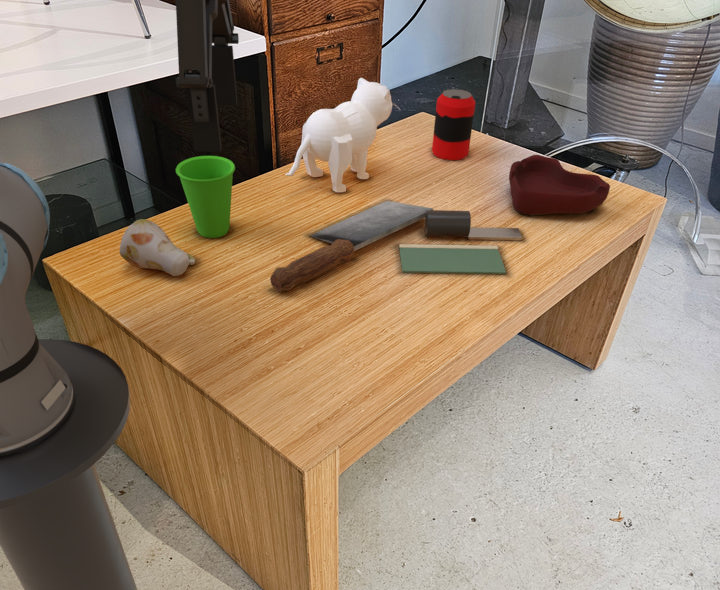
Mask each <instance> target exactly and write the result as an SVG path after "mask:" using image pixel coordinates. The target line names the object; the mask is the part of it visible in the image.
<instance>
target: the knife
mask: <svg viewBox="0 0 720 590" xmlns="http://www.w3.org/2000/svg"><path fill="white" fill-rule="evenodd" d="M471 225H472V218H471V212H470V210H448V209H447V210H445V209H444V210H440V209H439V210H437V209H433V210H427V211H426V214H425V218H424V236H426V237H456V238H457V237H459V238H461V237H463V238H466V237H467V240H468V241H522V240H523V236H522V234H521V232H520V229H519V227H474V226H473V227H471Z"/></svg>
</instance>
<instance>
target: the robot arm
mask: <svg viewBox="0 0 720 590" xmlns="http://www.w3.org/2000/svg"><path fill="white" fill-rule="evenodd" d="M175 14H176V15H175V16H176V36H177V37H176V39H177V61H178V63H177V64H178V77H175V86H176V87H177V88H182V89H183V88H185V93H186V94H185V95H186V101H187V109H188V114H189V122H190V123H189V124H190V130H191V136H192V137H191V138H192V145H193V151H194V152H203V153H205V152H209V153H210V152H211V153H221V152H222V148H223V147H222V139H221V130H220V129H221V127H220V121H219V120H220V119H219V111H218V106H220V107H238V104H239V103H238V92H237V81H236V70H235V69H236V67H235V57H234V47H233V45H238V44H239V42H240V40H239V33H238V32H237V33H236V32H234V31H235V25H234V21H233V16H232V15H233V14H232V11H231V4H230V0H175ZM193 71H196V72H193ZM50 213H51V212H50V207H49V203H48V201H47V198H46V196H45V194H44V192H43V191H42V189H41V188H40V186H39V185H38V183H37V182H36V181H35V180H34V179H33V178H32V177H31V176H30V175H28V174H27V172H25V171H23V170H22V169H20V168H19V167H17V166H15V165H13V164H11V163H8V162H5V163H3V162H0V458H5V457H9V456H13V455H16V454H19V453H21V452H24V451H26V450H29V449H31V448H33V447H35V446H37V445H39V444H40V443H42V442H44V441H45V440H47V439H48V438H50V437H51V436H52V435H53V434H55V433H56V432H57V431H58V430H59V429H60V428H61V427H62V426H63V425H64V424H65V423H66V421H67V420H68V419H69V417H70V415H71V413H72V411H73V409H74V406H75V392H74V389H73V386H72V383H71V380H70V378H69V377H68V375H67V373H66V372H65V371H64V369H63V368H62V367H61V366H60V365H59V364H58V363H57V362H56V361H55V360H54V358H53V357H52V356H51V355H50V354H49V353H48V352H47V351H46V350H45V349H44V348H43V346H42V345H41V344H40V343H39V341H38V339H39V338H38V336H37V333H36V329H35V326H34V324H33V321H32V318H31V316H30V313H29V310H28V307H27V304H26V294H27V292H28V288H29V285H30V283H31V280H32V278H33V275H34V273H35V270H36V267H37V265H38V262H39V260H40V256H41V254H42V252H43V251H44V250H45V248H46V246H47V243H48V239H49V235H50V225H51V214H50Z"/></svg>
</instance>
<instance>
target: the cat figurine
mask: <svg viewBox="0 0 720 590" xmlns="http://www.w3.org/2000/svg"><path fill="white" fill-rule="evenodd" d="M393 106H395V107H396V108H397V109H398V110H400V107H399V106H398V105H397V104H396V103H393V102H392V95H391V91H390V89H389V88H388V87H387V86H386V85H383V84H382V83H379V82H376V81H368V80H366V79H365V78H363V77H360V78H359V79H358V80H357V86H356V89H355V90H354V92H353V94H352V95H351V99H350V101H344V102H342V103H340V104H339V105H337V106H335V107H334V108H320V109H318V110H315V111H314V112H313V113H311V115H310V116H309V117H308V118H307V120H306V122H304V123H303V125H302V132H301V144H300V146H299V147H298V149H297V151H296V155H295V158H294V160H293V161H294V162H293V165H292V166H291V168H290V170H289V171H288V172H287V173H285V174H284V175H285V176H287V177H293V176H294V175H295V173H296V172H297V171H298V170H299V168H300V164H301V162H302V159H303V163H304V166H305V170H306V173H307V174H308V176H310V177H312V178H318V177H323V176H324V169H323V168H320V167H318V165H317V162H316V161H317V160H319V161H321V162H325V163H327V166H328V169H329V174H330V179H331V180H330V181H331V186H332V191H334V192H335V193H345V192H347V185H346V184H344V183H343V177H344V173H346V171H347V170H348V168H349V167H350V171H352V172H354V173H356V178H357V179H359V180H368V179H369V178H370V177H369V176H370V173H368V172H367V171H366V170H367V166H368V153H369V148H370V147H371V146H372V145H373V144H374V141H375V139H376V136H377V131H378V126H379V125H381V124H382V123H384V122H385V121H386V120H388V119H389V118H390V116H391V114H392V110H393Z"/></svg>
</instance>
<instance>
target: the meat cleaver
mask: <svg viewBox="0 0 720 590" xmlns="http://www.w3.org/2000/svg"><path fill="white" fill-rule="evenodd" d="M427 210H434V208H432V207H426V206H421V205H416V204H415V205H414V204H409V203H403V202H397V201H391V200H385V201H383V202H381V203H378V204H377V205H375V206H372V207H370V208H368V209H365V210H363V211H361V212H359V213H356V214H354V215H352V216H349V217H347V218H346V219H343V220H341V221H338V222H337V223H334V224H332V225H330V226H327V227H325V228H323V229H321V230H319V231H316V232H314V233H312V234H309V237H310V238H311V237H312V238H314V239H317V240H320V241H323V242H326V243H329V244H330V245H326V246H323V247H320V248H318V249H316V250H314V251H312V252H310V253H308V254H306V255H303V256H302V257H299V258H298V259H295V260H293V261H291V262H290V263H289V264H287V265H286V266H283V267H281V266H280V267H277V268H275V269H274V271H273V272H272V274H271V276H270V284H271V286H272V288H273V289H274V290H275V291H278V292H290V291H291V289H293V288H294V286H295V285H300V284H304V283H306V282H308V281H310V280H312V279H314V278H316V277H318V276H320V275H322V274H324V273H326V272H328V271H330V270H331V269H333V268H335V267H337V266H338V265H339V264H344V263H348V262H349V261H350V260H351V258H352V257H353V255H354V253H355V251H357V250H360V249H361V248H364V247H366V246H368V245H370V244H372V243H375V242H377V241H378V240H381V239H383V238H385V237H387V236H389V235H391V234H393V233H395V232H398V231H400V230H401V229H404V228H406V227H408V226H410V225H412V224H414V223H416V222H419V221H421V220H423V219H425V214H426V211H427Z"/></svg>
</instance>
